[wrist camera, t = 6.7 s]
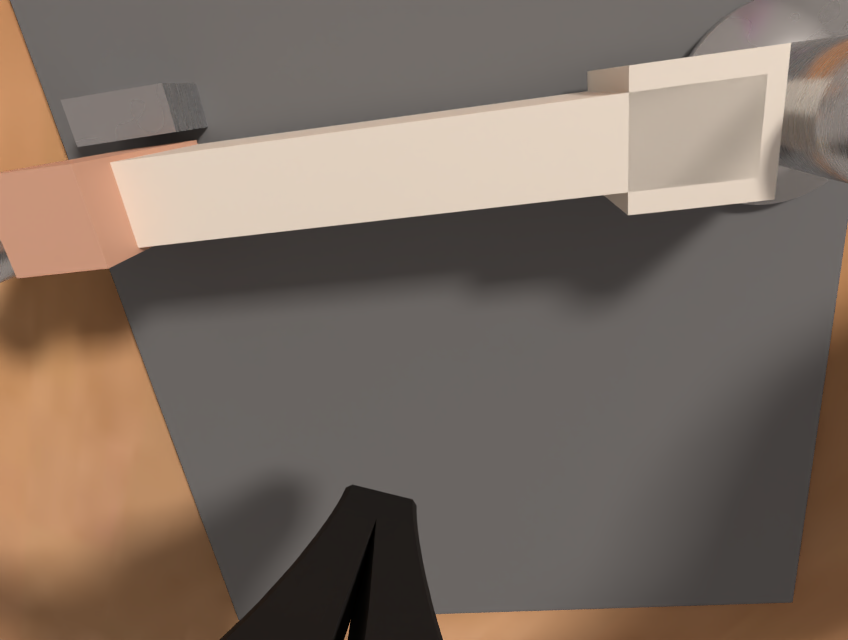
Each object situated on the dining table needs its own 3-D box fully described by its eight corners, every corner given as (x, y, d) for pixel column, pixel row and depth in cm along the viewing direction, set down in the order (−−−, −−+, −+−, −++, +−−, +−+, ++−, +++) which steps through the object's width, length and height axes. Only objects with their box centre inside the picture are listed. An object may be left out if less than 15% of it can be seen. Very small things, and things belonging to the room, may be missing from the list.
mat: (897, -220, 11) (913, -230, 10) (786, 592, 18) (792, 602, 18) (8, -38, 13) (-6, -42, 13) (243, 611, 21) (238, 620, 20)
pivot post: (880, -24, 12) (1186, -106, 7) (850, 186, 13) (1079, 246, 8) (664, 12, 12) (796, -40, 7) (661, 209, 14) (767, 278, 9)
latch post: (203, 83, 14) (46, 81, 9) (238, 215, 15) (119, 281, 10) (43, 109, 14) (-193, 122, 9) (89, 235, 16) (-96, 306, 10)
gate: (703, 54, 12) (829, 37, 8) (698, 170, 13) (808, 211, 8) (122, 136, 13) (-34, 158, 9) (153, 233, 14) (23, 293, 10)
